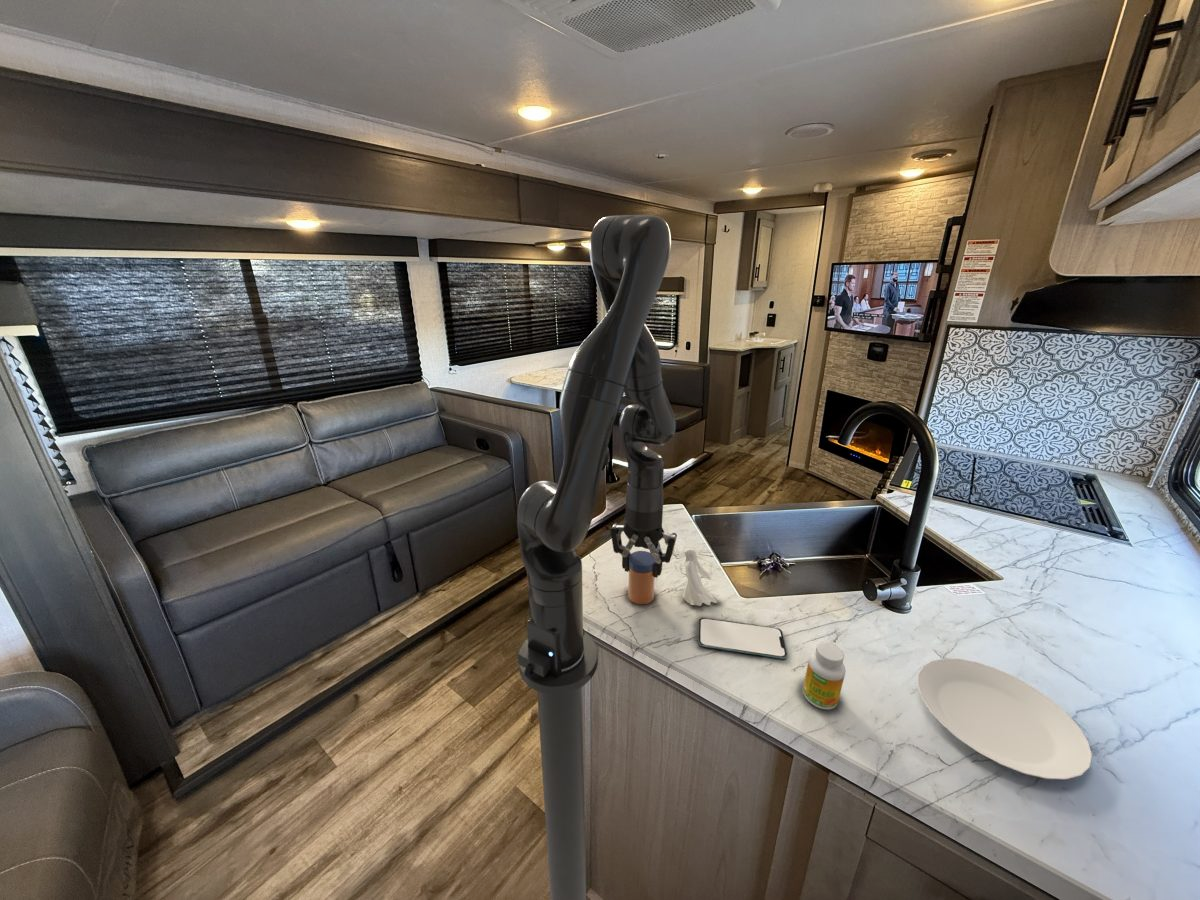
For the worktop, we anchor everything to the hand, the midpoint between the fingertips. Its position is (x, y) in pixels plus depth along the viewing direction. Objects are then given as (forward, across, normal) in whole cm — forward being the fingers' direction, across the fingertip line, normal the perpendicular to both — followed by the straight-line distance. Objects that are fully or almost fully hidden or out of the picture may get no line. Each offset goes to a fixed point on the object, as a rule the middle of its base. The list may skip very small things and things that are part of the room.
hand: (641, 572), depth 98 cm
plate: (+6, +60, -11) cm, 61 cm away
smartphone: (+6, +21, -6) cm, 23 cm away
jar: (+6, 0, 0) cm, 6 cm away
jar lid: (-3, 0, 0) cm, 3 cm away
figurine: (+6, +12, +3) cm, 14 cm away
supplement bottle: (+6, +35, -15) cm, 38 cm away
